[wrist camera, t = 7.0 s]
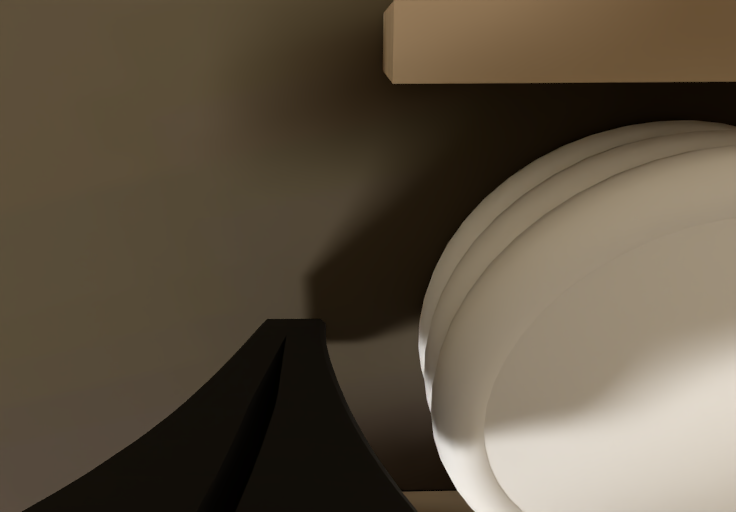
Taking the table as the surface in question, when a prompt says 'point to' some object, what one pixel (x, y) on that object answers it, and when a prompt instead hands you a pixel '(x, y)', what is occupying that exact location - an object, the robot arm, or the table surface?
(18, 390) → the table surface
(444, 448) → the coaster
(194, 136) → the table surface
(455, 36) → the coaster rack
